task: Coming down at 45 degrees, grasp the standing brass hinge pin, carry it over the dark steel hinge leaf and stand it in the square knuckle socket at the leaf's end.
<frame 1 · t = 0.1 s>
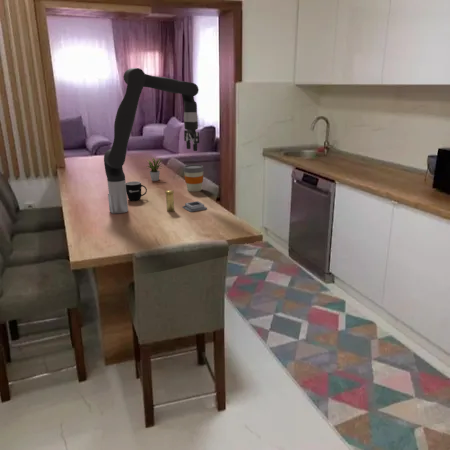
hand: (191, 149, 246), 29 cm above the table, tool pointing down, fingers open, 8 cm apart
house plant: (157, 180, 306), on the table
hinge pin: (170, 210, 234), on the table
mug: (137, 199, 257), on the table
reusable coffee cup: (194, 190, 278), on the table
hinge leaf: (194, 208, 238), on the table
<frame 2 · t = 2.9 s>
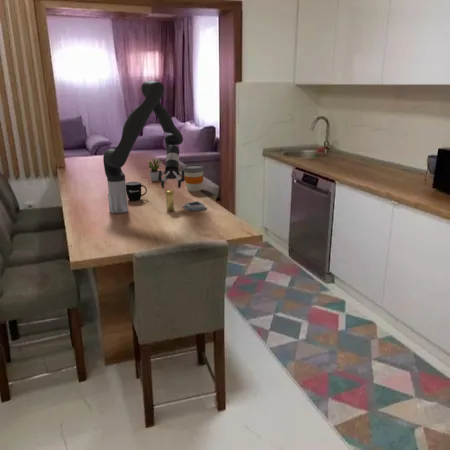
hand: (170, 187, 237), 11 cm above the table, tool tilted 45°, fingers open, 8 cm apart
nothing on the table moved.
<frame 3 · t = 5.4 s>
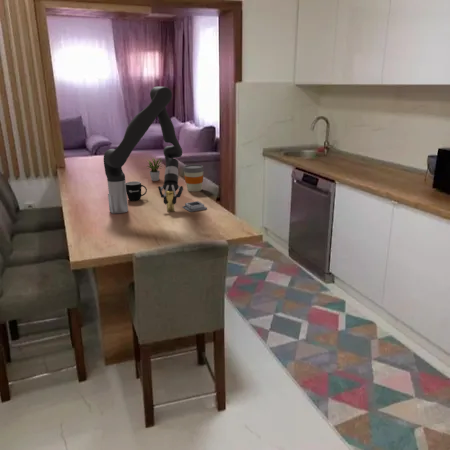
hand: (169, 203, 231), 5 cm above the table, tool tilted 45°, fingers closed on hinge pin, 4 cm apart
hinge pin: (170, 210, 234), on the table, touching gripper
everything else where it was.
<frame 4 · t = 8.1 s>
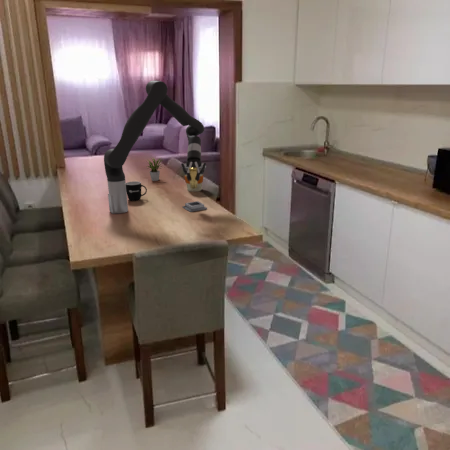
hand: (193, 180, 231), 16 cm above the table, tool tilted 45°, fingers closed on hinge pin, 4 cm apart
hinge pin: (193, 187, 234), point 12 cm above the table, touching gripper
everything else where it was.
when the fingers open (6 cm above the table, at t = 10.6 s): hinge pin drops 1 cm, resting on hinge leaf.
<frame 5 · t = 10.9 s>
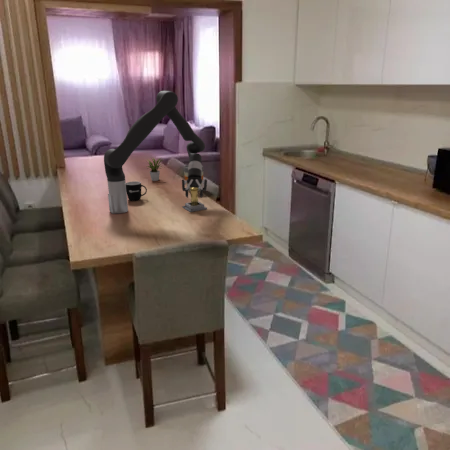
hand: (194, 196, 234), 7 cm above the table, tool tilted 45°, fingers open, 6 cm apart
hinge pin: (194, 206, 238), point 1 cm above the table, touching hinge leaf
everything else where it was.
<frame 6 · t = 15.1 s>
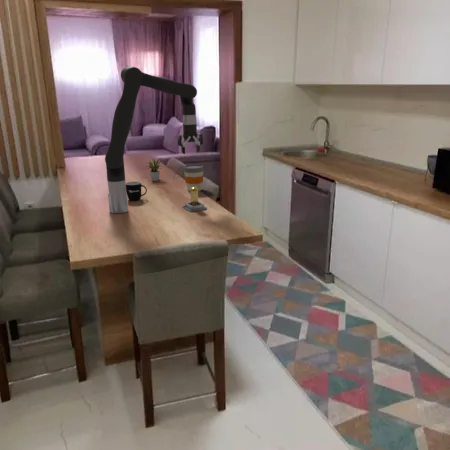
hand: (190, 153, 242), 28 cm above the table, tool pointing down, fingers open, 8 cm apart
nothing on the table moved.
at the end: hinge pin 0.1 cm off-centre on the hinge leaf, point 0.9 cm above the hinge leaf's base; hinge pin tilted 2°; the gripper is holding nothing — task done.
